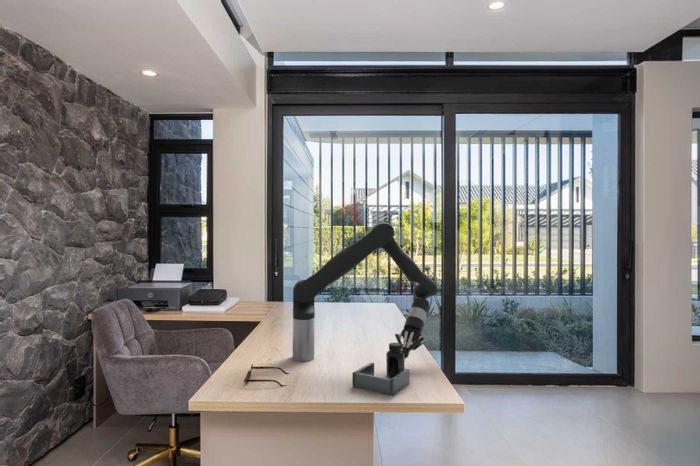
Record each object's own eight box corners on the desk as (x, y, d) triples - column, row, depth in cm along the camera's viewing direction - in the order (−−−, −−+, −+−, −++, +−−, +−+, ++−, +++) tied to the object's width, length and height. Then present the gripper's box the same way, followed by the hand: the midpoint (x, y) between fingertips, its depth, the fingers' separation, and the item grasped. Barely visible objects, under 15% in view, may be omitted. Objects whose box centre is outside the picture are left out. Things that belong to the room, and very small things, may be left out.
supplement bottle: (403, 373, 163) (403, 341, 163) (405, 379, 156) (406, 346, 156) (385, 373, 163) (385, 341, 163) (387, 379, 156) (387, 346, 156)
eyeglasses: (250, 374, 161) (251, 361, 161) (290, 374, 162) (290, 361, 162) (243, 388, 146) (244, 374, 146) (287, 388, 147) (287, 373, 147)
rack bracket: (371, 375, 159) (371, 362, 159) (409, 383, 152) (409, 369, 152) (352, 387, 147) (352, 372, 147) (392, 396, 140) (392, 380, 140)
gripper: (398, 313, 178) (385, 349, 167) (428, 317, 171) (416, 354, 160) (403, 324, 182) (391, 359, 172) (433, 327, 175) (421, 365, 165)
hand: (403, 357), depth 166 cm, fingers closed
